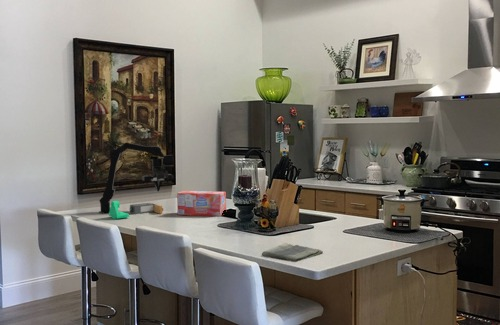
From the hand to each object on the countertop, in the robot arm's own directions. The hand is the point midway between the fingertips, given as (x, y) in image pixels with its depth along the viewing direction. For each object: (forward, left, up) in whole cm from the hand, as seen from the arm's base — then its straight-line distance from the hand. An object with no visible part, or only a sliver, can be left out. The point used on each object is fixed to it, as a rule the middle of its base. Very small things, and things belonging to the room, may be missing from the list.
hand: (158, 191), depth 354 cm
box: (+32, +12, -12) cm, 37 cm away
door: (+10, -5, -12) cm, 16 cm away
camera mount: (+11, -30, -12) cm, 34 cm away
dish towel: (+147, -12, -13) cm, 148 cm away
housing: (+1, -12, -12) cm, 17 cm away
